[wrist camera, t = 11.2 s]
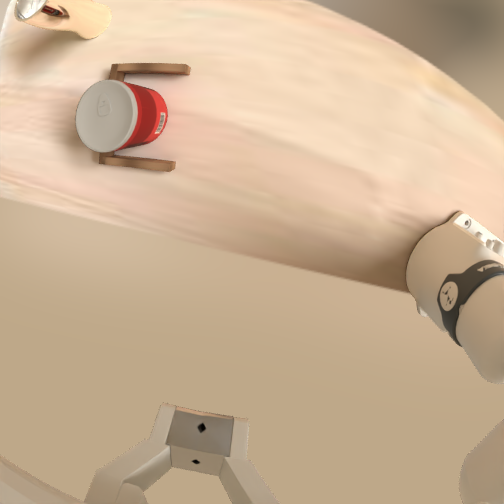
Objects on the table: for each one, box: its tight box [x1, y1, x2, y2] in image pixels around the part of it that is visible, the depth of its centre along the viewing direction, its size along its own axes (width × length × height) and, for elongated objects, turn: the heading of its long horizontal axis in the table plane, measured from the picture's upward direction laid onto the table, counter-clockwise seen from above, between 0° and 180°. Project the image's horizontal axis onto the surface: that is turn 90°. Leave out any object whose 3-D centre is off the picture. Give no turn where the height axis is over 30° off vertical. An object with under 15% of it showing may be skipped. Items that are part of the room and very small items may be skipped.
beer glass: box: [15, 0, 112, 39], centre depth 22 cm, size 7×7×15 cm
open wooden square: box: [99, 63, 191, 172], centre depth 34 cm, size 10×14×2 cm
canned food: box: [75, 80, 168, 152], centre depth 31 cm, size 8×8×11 cm
